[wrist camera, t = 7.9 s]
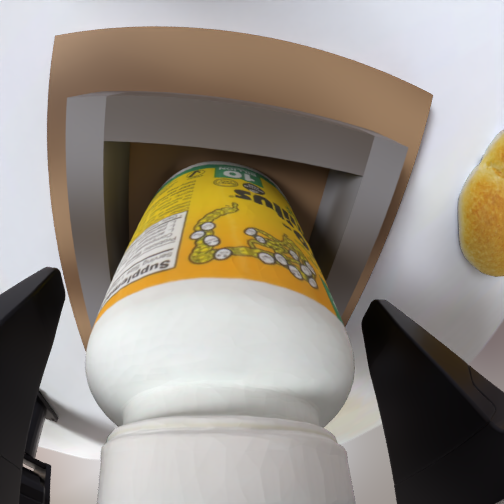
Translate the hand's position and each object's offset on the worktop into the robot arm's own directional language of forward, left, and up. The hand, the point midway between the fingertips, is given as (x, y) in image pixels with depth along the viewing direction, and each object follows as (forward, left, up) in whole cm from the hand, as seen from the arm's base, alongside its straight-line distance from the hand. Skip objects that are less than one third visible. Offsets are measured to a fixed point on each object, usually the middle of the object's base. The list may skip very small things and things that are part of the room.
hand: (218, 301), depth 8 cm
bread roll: (+4, -15, -5) cm, 17 cm away
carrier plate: (-4, 0, -5) cm, 6 cm away
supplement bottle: (0, 0, -4) cm, 4 cm away
